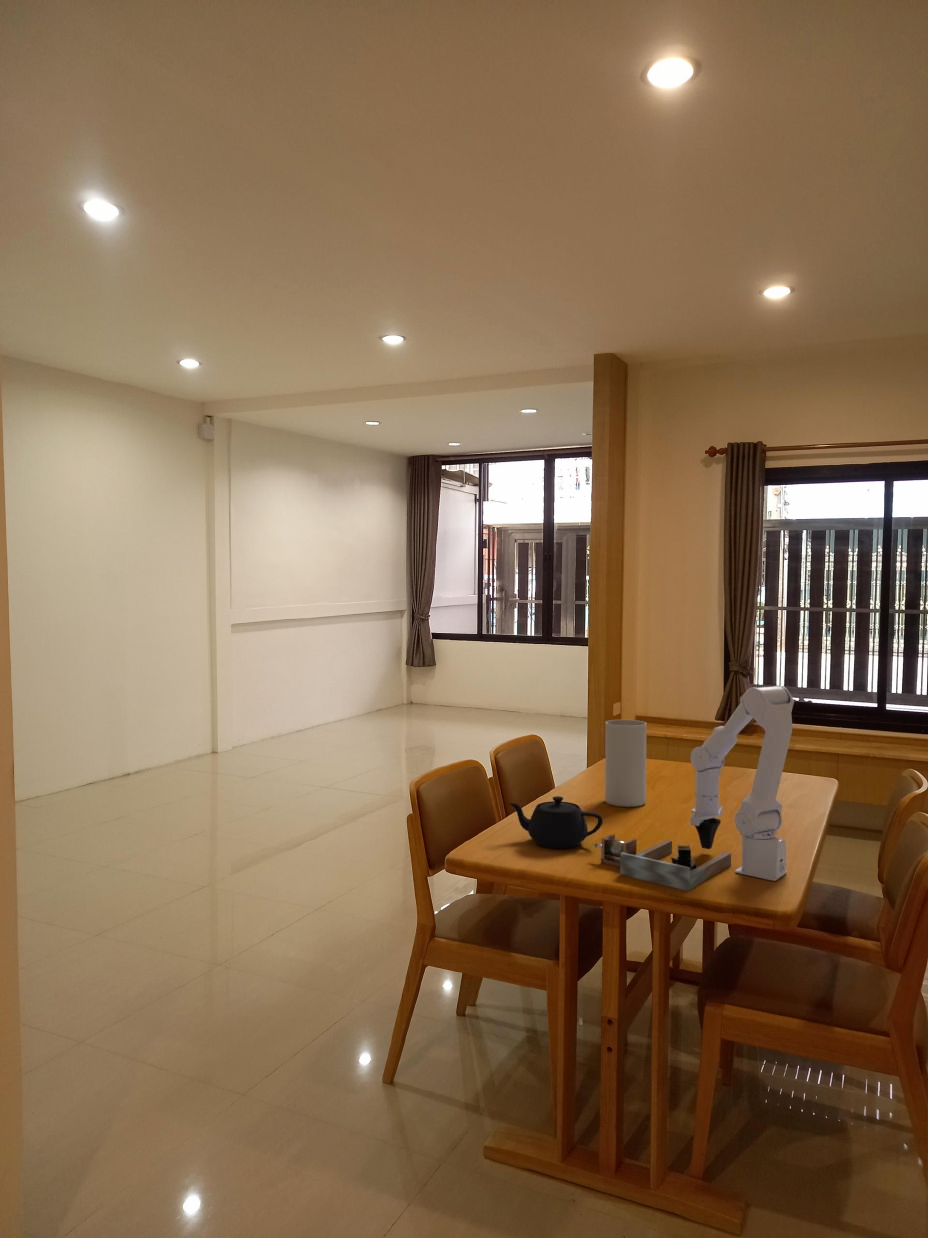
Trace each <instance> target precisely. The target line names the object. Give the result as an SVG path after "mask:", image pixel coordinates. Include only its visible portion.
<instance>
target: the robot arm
mask: <svg viewBox="0 0 928 1238" xmlns="http://www.w3.org/2000/svg"><path fill="white" fill-rule="evenodd" d="M794 703H795V700H794V697H793V696H792V695H791V693H790V691H789V690H788V688H786V687H785V686H784V685H774V686H763V687H755V686H754V687H753V686H752V687H750V688H748V689H746V691H745V692H744V693H743V695H741V696H740V698H739V705H738V706H737V707H736V709H735V711H733V713H732V714H731V716H730V717H729V718H728V720H727V721H726V723H725V725H719V726H717V727H714V728H713V729H712V730H711V731H712V733H711V735H710V736H709V737H708V738H707V739H706V740H704V741H703V744H702V745H700V746H697V747H694V748H692V751H691V753H690V763H691V765H692V767H693V768H694V769H695V780H694V781H695V783H694V785H695V786H694V787H695V793H694V794H695V795H694V796H695V797H694V798H695V802H694V804H695V805H694V808H692V809H690V813H691V814H692V816H690V817H689V818H690V819H689V820H690V826H694V827H695V829H696V831H697V834H698V838H699V841H700V846H701V848H702V849H704V850H705V849H706V850H711V849H712V848H713V843H714V841H715V840H714V839H715V836H716V834H717V830H718V828H719V827H720V825H721V819H720V818H719V817H720V816H721V815H723V813H724V809H723V806H720V776H721V775H722V768H723V766H724V765H725V763H726V762H725V761H726V759H725V757H726V756H727V754H728V753H729V752H730V751H731V750H732V749H733V747H734V746H735V745H736V744H737V742H738V736H737V735H739V733H740V732H741V731H742V730H743V729H744V728H745V727H746V726H747V725H748V724H749V723H750V722H751V720H753V719H754V721H756V723H757V724H758V725H759V726H760V727H761V728H763V729H764V731H765V733H764V736H763V737H764V738H763V742H762V746H761V751H760V754H759V759H758V761H757V762H758V763H757V766H756V771H755V776H754V779H753V783H752V788H751V792H750V794H749V795H747V796H746V797H745V798H744V800H742V801H741V804H740V807H739V808H738V810H737V811H736V813H735V816H734V822H735V823H734V825H735V826H736V829H737V830H738V832H739V835H741V866H740V867H738V868H737V869H735V871H734V872H735V873H737V874H741V875H745V876H750V877H753V878H759V879H763V880H768V881H773V882H775V881H777V880H779V879H780V878H781V877H784V875H786V874H787V873H788V870H787V844H786V840H783V839H782V838H780V837H776V836H777V833H778V832H777V831H778V830H779V829H780V828H781V827H782V825H783V816H782V809H783V804H782V803H781V802H780V801H779V800H778V799H777V796H778V791H779V789H780V788H779V787H780V783H781V779H782V774H783V771H784V766H785V762H786V759H787V755H788V750H789V746H790V741H791V737H792V735H793V734H792V733H793V718H792V717H793V716H792V710H793V707H794Z"/></svg>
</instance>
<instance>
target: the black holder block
mask: <svg viewBox="0 0 928 1238" xmlns="http://www.w3.org/2000/svg"><path fill="white" fill-rule="evenodd" d="M676 852H677V854H676V855H677V857H671V858H670V859H671V863H673V864H677V865H682V866H686V867H690V871H692V870H694V869H695V868H697V864H696V860H695V858H692V850H691V845H680V844H679V845H677V850H676Z"/></svg>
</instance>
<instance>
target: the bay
mask: <svg viewBox="0 0 928 1238" xmlns="http://www.w3.org/2000/svg"><path fill="white" fill-rule="evenodd" d="M672 853H673V841H672V840H669V839H665V840H663V841H661V842H659V843H657V844H655V845H653V846H650V847H649V848H646V849H645V850H642V851H640V852H637V853H636V855H632V854H628V853H623V852H622V853H621V858H620V867H619V868H620V869H619V870H620V871H619V874H620V875H621V876H625V877H629V878H634V879H637V880H642V881H645V882H646V881H647V882H650V883H653V884H657V885H662V886H665V887H671V888H675V889H679V890H682V891H685V892H686V891H687V892H690V891H691V890H692V889H693V888H696V887H697V886H699V885H700V884H702V883H704V882H706V881H707V880H709V879H710V878H712V877H714V876H715V875H717V874H719V873H721V872H723V871H724V870H726V869H727V868H729V867H730V866H732V852H728V851H724V852H722V853H721V854H719V855H717V856H715V857H713V858H711V859H710V860H708V861H706V862H705V863H703V864H701V865H699V866H698V867H697V866H696V867H697V868H695V869H694V870H692V871H690V867H686V866H682V865H677V864H673V863H672V862H669V861H664V860H660V859H663V858H665V857H666V856H668V855H670V854H672Z"/></svg>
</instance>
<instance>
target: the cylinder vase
mask: <svg viewBox="0 0 928 1238" xmlns="http://www.w3.org/2000/svg"><path fill="white" fill-rule="evenodd" d="M604 725H605V726H604V727H605V731H604V732H605V735H604V737H605V738H604V739H605V743H604V745H605V746H604V748H605V751H604V752H605V753H604V757H605V758H604V760H605V761H604V762H605V763H604V764H605V766H604V773H605V774H604V796H605V797H604V800H605V802H606V804H608V805H611V806H614V807H619V808H620V807H622V808H635V807H641V806H644V805H645V804H647V803H646V802H647V722H645V721H643V720H636V719H611V720H606V721H605V724H604Z"/></svg>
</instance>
